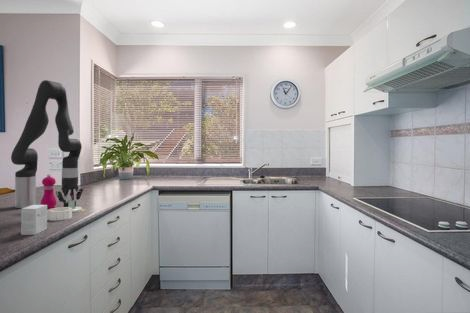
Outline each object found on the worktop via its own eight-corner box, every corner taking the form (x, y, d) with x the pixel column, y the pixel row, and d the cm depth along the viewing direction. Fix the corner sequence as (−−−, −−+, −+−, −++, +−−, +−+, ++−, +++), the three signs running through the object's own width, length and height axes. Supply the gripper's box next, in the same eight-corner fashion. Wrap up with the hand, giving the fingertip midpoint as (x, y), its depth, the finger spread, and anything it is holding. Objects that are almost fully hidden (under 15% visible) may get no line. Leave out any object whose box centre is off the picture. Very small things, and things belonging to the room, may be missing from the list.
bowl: (42, 220, 129) (42, 210, 129) (64, 216, 138) (64, 206, 138) (55, 223, 125) (55, 212, 125) (76, 219, 134) (76, 208, 134)
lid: (51, 211, 143) (51, 200, 143) (73, 207, 154) (73, 197, 154) (65, 213, 138) (65, 203, 138) (86, 209, 148) (87, 199, 148)
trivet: (51, 213, 143) (51, 211, 143) (73, 209, 154) (73, 207, 154) (65, 216, 138) (65, 214, 138) (87, 211, 148) (87, 210, 148)
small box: (33, 229, 116) (33, 204, 116) (47, 229, 117) (47, 204, 117) (20, 235, 108) (20, 208, 108) (35, 235, 109) (35, 208, 109)
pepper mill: (48, 213, 144) (48, 175, 143) (37, 212, 145) (37, 174, 144) (59, 210, 151) (60, 173, 150) (48, 209, 152) (49, 173, 151)
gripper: (78, 174, 153) (78, 205, 154) (52, 176, 141) (51, 210, 141) (87, 175, 150) (86, 207, 150) (60, 178, 137) (60, 212, 138)
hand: (69, 208), depth 146 cm, fingers closed on lid, 3 cm apart
